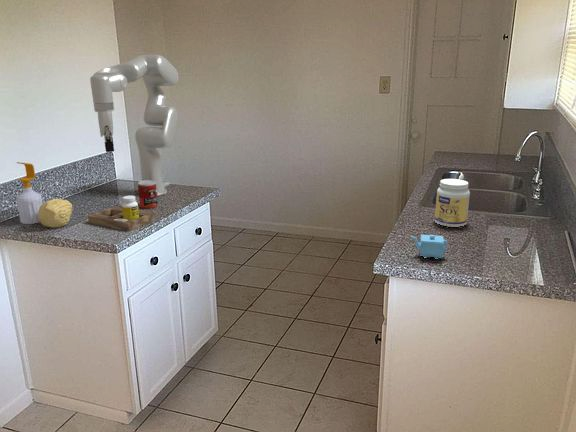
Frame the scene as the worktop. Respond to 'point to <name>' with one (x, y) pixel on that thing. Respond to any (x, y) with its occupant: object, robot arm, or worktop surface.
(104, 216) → the socket rack
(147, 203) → the canned food
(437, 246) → the teapot
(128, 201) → the pill bottle
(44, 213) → the sculpture
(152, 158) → the robot arm
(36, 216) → the soap bottle
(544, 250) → the worktop surface
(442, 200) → the supplement tub
